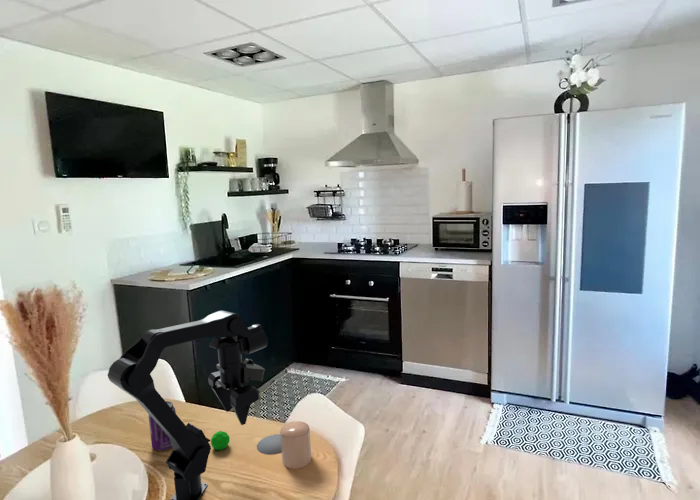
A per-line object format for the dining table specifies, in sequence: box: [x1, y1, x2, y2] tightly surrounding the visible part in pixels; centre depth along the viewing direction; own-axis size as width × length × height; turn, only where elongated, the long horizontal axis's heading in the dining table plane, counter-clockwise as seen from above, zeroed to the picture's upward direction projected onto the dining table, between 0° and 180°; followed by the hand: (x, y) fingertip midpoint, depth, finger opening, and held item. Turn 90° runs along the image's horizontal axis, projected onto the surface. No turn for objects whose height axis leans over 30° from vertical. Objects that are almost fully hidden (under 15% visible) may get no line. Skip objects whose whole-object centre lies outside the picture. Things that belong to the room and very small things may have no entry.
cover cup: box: [279, 420, 313, 470], centre depth 115 cm, size 7×7×9 cm
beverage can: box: [148, 400, 176, 451], centre depth 125 cm, size 7×7×12 cm
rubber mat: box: [256, 433, 282, 456], centre depth 124 cm, size 10×10×1 cm
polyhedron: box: [210, 430, 231, 451], centre depth 123 cm, size 5×5×5 cm
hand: (235, 417), depth 114 cm, fingers open, 9 cm apart
